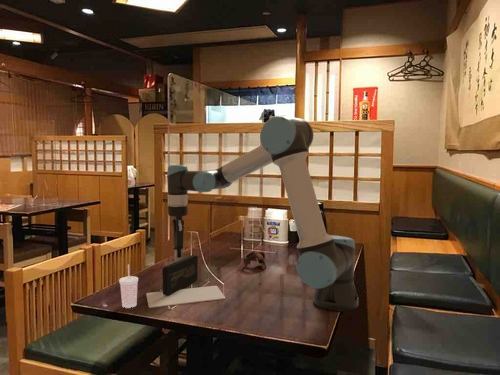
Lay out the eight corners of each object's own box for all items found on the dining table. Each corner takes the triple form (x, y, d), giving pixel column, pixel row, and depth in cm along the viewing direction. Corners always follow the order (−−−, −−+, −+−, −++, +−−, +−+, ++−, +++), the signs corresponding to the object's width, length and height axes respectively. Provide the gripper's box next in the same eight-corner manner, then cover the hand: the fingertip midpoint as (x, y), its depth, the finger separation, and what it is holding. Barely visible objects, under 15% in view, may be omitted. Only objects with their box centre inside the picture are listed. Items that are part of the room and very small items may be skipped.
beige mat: (225, 299, 138) (225, 297, 138) (148, 308, 130) (148, 307, 130) (216, 286, 150) (216, 285, 150) (146, 294, 142) (146, 293, 142)
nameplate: (167, 296, 139) (166, 268, 138) (162, 295, 139) (162, 267, 139) (197, 279, 158) (197, 254, 157) (193, 279, 159) (193, 254, 158)
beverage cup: (119, 309, 128) (118, 267, 127) (120, 302, 134) (119, 262, 133) (139, 307, 130) (138, 266, 129) (138, 300, 136) (137, 261, 135)
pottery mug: (262, 273, 168) (252, 256, 168) (246, 278, 174) (236, 263, 173) (274, 259, 178) (264, 243, 177) (258, 265, 183) (249, 250, 183)
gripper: (190, 207, 147) (191, 268, 149) (184, 202, 159) (185, 259, 162) (170, 208, 145) (171, 270, 147) (166, 203, 157) (167, 261, 159)
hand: (178, 264), depth 154 cm, fingers closed
